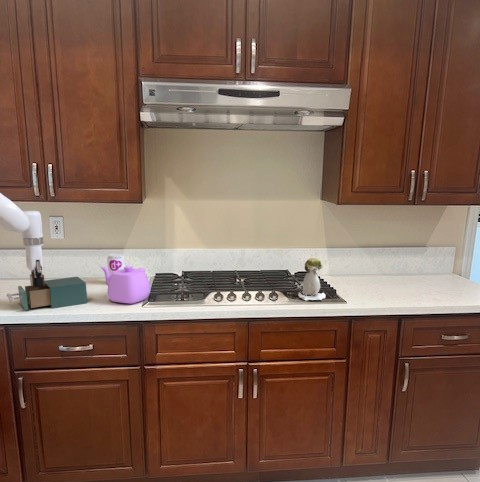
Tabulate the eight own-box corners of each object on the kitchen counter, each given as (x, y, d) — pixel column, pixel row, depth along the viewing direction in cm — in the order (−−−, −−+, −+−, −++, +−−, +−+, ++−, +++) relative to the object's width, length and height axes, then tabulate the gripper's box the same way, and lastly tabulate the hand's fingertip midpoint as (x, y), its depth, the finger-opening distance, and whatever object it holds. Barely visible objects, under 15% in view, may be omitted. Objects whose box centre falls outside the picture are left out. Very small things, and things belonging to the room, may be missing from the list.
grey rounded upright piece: (293, 299, 211) (295, 259, 206) (303, 292, 222) (305, 254, 217) (319, 302, 206) (321, 262, 201) (327, 295, 217) (330, 257, 212)
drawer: (11, 312, 184) (9, 294, 182) (6, 304, 193) (4, 287, 191) (59, 304, 194) (58, 288, 192) (53, 298, 203) (51, 282, 201)
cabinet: (51, 308, 192) (49, 287, 189) (44, 300, 202) (42, 280, 199) (87, 303, 200) (85, 282, 197) (79, 296, 210) (77, 276, 207)
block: (33, 287, 190) (31, 276, 188) (30, 285, 193) (29, 274, 192) (44, 286, 192) (43, 275, 191) (42, 283, 196) (41, 273, 195)
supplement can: (123, 286, 226) (122, 256, 222) (106, 286, 226) (105, 256, 222) (127, 282, 234) (126, 253, 230) (111, 282, 234) (109, 253, 230)
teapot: (160, 294, 214) (159, 262, 210) (135, 307, 195) (133, 272, 191) (118, 289, 222) (116, 258, 218) (89, 301, 202) (87, 267, 198)
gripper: (19, 239, 193) (23, 282, 197) (27, 245, 179) (32, 291, 184) (38, 238, 197) (42, 279, 201) (47, 244, 183) (52, 288, 188)
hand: (37, 284), depth 193 cm, fingers closed on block, 4 cm apart
